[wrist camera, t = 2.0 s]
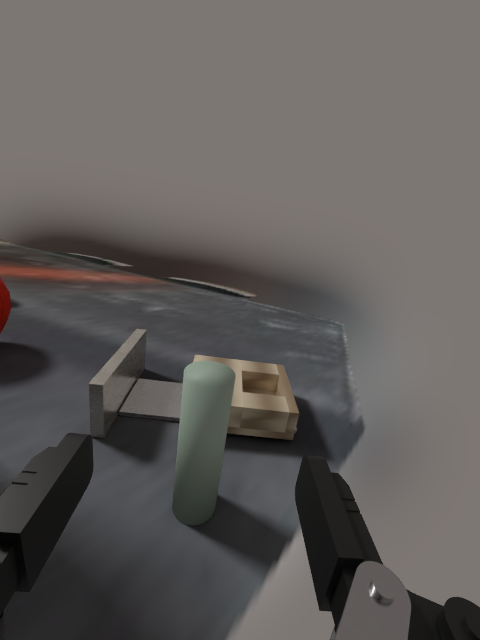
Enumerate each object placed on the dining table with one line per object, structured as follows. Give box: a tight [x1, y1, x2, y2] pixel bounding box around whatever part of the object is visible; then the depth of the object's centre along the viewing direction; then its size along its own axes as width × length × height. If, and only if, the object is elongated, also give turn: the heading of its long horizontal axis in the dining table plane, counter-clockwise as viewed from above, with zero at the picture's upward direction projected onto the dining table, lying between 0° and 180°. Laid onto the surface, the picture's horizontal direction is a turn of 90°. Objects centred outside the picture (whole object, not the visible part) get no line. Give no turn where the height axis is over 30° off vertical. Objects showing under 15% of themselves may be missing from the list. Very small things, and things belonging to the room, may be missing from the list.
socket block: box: [193, 355, 299, 440], centre depth 41 cm, size 14×12×4 cm
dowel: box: [172, 361, 236, 526], centre depth 25 cm, size 4×4×14 cm
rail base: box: [89, 329, 297, 438], centre depth 40 cm, size 25×16×7 cm, turn 91°
